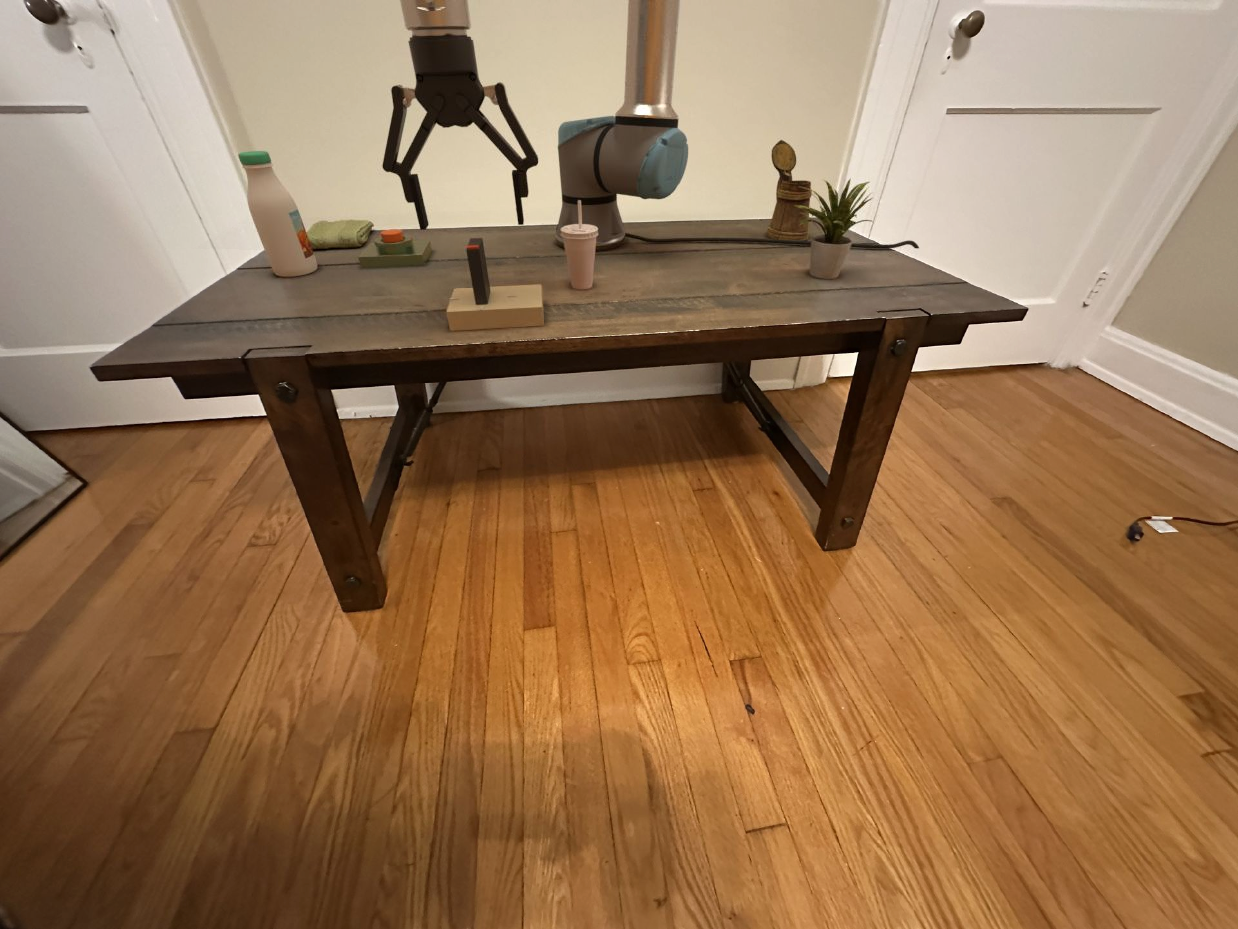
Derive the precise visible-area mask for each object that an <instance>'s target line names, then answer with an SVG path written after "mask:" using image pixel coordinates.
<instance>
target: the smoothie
mask: <svg viewBox="0 0 1238 929" xmlns="http://www.w3.org/2000/svg"><path fill="white" fill-rule="evenodd" d="M578 220H579V224H572V225H567V226H564V227H562V228H561V236H562V237H563V241H564V247H565V248H564V253H565V257H566V263H567V269H568V273H569V274H568V275H569V279H570V284H571V288H572V289H575V290H588V289H591V288H592V287H593V280H594V270H595V269H594V268H595V259H596V258H595V257H596V251H595V247H596V236H598V228H597V227H596V226H593V225H589V224H582V212H581V201H580V200H579V201H578Z"/></svg>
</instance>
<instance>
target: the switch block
mask: <svg viewBox="0 0 1238 929" xmlns="http://www.w3.org/2000/svg"><path fill="white" fill-rule="evenodd" d="M403 237H404V240H402V241H397V242H383V240H382V236H380V237H377V238H375V240H374V241H373V242H370V243H369V244H368V245H367V246H366V248H365V249H363V251H362V252H361V253H360V254H359V256H358V262H359V266H360V268H361V269H378V268H379V269H381V268H399V267H400V268H401V267H403V268H404V267H422V266H423V267H425V266H426V264H427V261H428V260H429V258H430V257H431V255H432V252H433V248H432V243H431V240H413V238H412V236H411V235H409V234H403Z"/></svg>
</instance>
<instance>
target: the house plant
mask: <svg viewBox="0 0 1238 929" xmlns="http://www.w3.org/2000/svg"><path fill="white" fill-rule="evenodd" d="M823 182H825V184H826V186H827V192H828V201H829V205H828V202H826V200H825V199H824V198H823V197H822V196H821V195H820V194H819V193H818V192H816V191H815V190H813V189H812V188H811V189H812V190H811V189H808V188H805V189H808V190H811V191H812V195H811V196H814V198H817V201H818V204H819V208H820V210H818V209H816V208H813V207H811V206H809V207H806V206H800V205H794V206H796V207H798V208H801V209H804V210H805V211H807V212H808V213H809V216H808V215H807V216H808V217H809V219H805V220H802V221H803V222H802V221H800V222H801V224H804V223H807V222H809V223H810V222H812V223H813V225H814V226H816V228H817V229H818V230H819V232H820V233H821V234H816V235H814V236H811V239H810V241H811V245H810V259H809V260H810V262H809V275H810V276H812V277H814V278H817V279H823V280H832V279H833V280H834V279H837V278H838V277H839V275H840V273H841V271H842V268H843V266H844V263H845V261H846V258H847V256H848V254H849V252H850V249H851V248H852V247H851V245H852V243H854V242H853V241H854V240H853V239H852V238H850V237H848V236H844V235H845V234H846V233H847V232H848V231H849V230H850V229H851V228H852V227H853V226H855V225H857V224H859V223H862V222H871V223H873V224H874V223H875V222H874V221H873V220H870V219H862V220H858V221H854V220H852V219H853V218H857V215H858V214H856V213H857V212H858V211H859V210H861V209H862V208H863V207H864V206H865V205H866V204H867V203H868V202H870V201H871V200H872V199H874V197H873V196H872V197H871V198H869V197H870V196H871V194H872V192H870V193H869V194H868V195H867V196H866V197H865V198H864V199H863V197H864V195H865V194H866V193H867V191H868V189H869V188H870V186H868V187H866V186H867V185H868V184H869V183H870V181H866V182H862V183H859V184H856V185H855V186H853V188H852V189H851V190H850V191H849V189H850V185H851V178H849V180H848V181H847V182H846V184H845V186H844V189H843V191H842V192H841V194H840V198H839V193H838V191H837V190H836V189H835V188H833V186H832V184H831V183H830V182H828V181H827V180H825V179H823ZM798 187H799V186H798ZM865 187H866V189H865V190H864V188H865ZM802 188H804V187H802ZM863 190H864V191H863ZM862 191H863V192H862ZM861 192H862V193H861ZM860 193H861V194H860ZM809 194H811V193H809ZM815 195H816V196H815ZM858 196H859V197H858ZM857 197H858V198H857ZM868 198H869V199H868ZM861 199H863V200H861ZM855 200H856V201H855ZM860 201H861V203H859V202H860ZM858 203H859V205H858V206H857V204H858ZM856 206H857V207H856ZM855 207H856V208H855ZM802 214H804V213H802ZM805 215H806V214H805ZM810 215H811V217H810ZM813 217H815V218H817V219H819V220H820V222H819V221H817V220H815V219H812V218H813ZM801 224H800V225H801ZM816 224H817V225H818V226H819V227H820V228H819V227H818V226H817V225H816ZM798 227H799V226H798ZM820 229H821V230H820Z"/></svg>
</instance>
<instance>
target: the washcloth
mask: <svg viewBox="0 0 1238 929" xmlns="http://www.w3.org/2000/svg"><path fill="white" fill-rule="evenodd" d="M373 227H375V224H374V223H373V222H372V221H370V220H367V219H341V220H335V221H328V220H319V221H317V222H314V223H313V224H312V226H310V227H309V229H308V230H306V233H307V236H308V239H309V242H310V244H311V247H312V250H313V251H314V250H320V249H321V250H329V249H331V248H334V249H339V248H340V249H349V248H351V249H352V248H360V247H362V246H363V245H364V244H365V243H366V242H367V241H368V239H369V235H370V233H371V231H372V228H373Z"/></svg>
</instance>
